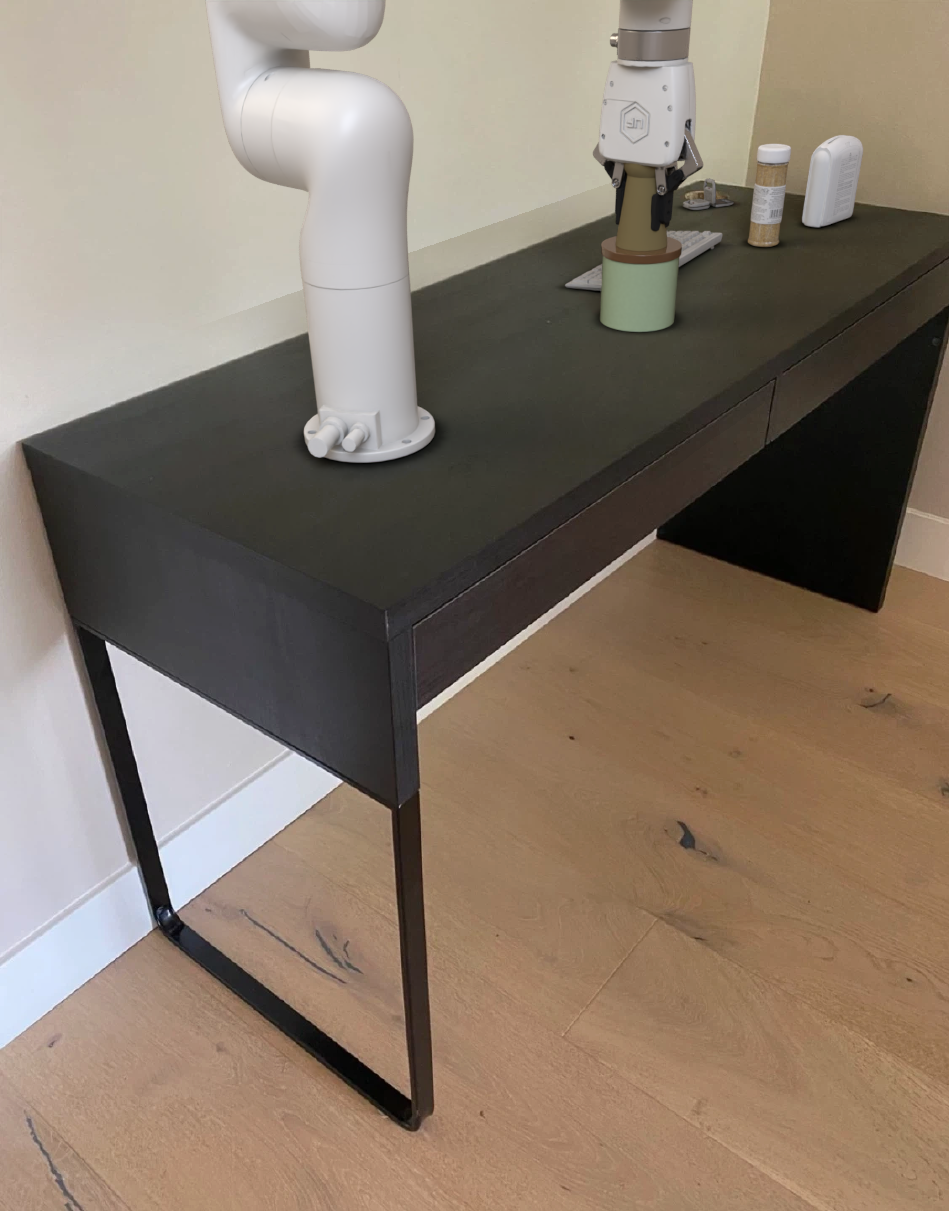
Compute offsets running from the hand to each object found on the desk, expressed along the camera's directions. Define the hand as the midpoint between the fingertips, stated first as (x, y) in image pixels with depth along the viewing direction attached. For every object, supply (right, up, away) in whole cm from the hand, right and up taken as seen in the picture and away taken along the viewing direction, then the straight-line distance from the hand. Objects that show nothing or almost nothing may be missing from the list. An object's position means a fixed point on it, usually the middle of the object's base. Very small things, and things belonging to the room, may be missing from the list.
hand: (642, 223), depth 120 cm
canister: (0, -9, +6) cm, 11 cm away
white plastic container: (+36, +16, +42) cm, 58 cm away
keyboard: (+5, +3, +25) cm, 26 cm away
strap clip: (+19, +22, +53) cm, 60 cm away
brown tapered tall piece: (0, -2, +1) cm, 2 cm away
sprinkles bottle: (+23, +9, +33) cm, 41 cm away
